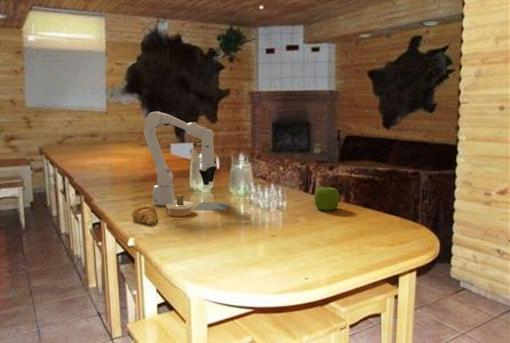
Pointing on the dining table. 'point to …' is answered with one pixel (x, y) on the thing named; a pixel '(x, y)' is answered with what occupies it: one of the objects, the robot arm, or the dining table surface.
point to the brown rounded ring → (180, 212)
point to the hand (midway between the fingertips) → (208, 183)
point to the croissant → (145, 213)
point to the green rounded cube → (326, 198)
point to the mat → (212, 206)
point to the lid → (180, 204)
